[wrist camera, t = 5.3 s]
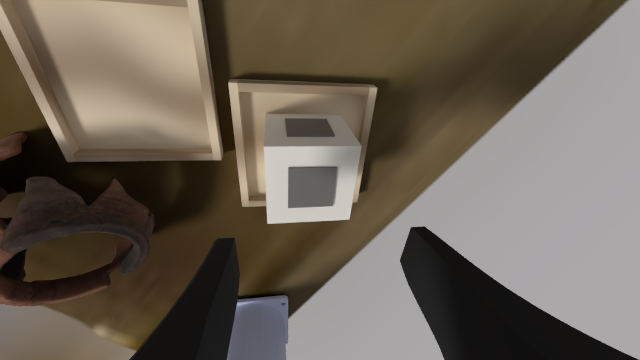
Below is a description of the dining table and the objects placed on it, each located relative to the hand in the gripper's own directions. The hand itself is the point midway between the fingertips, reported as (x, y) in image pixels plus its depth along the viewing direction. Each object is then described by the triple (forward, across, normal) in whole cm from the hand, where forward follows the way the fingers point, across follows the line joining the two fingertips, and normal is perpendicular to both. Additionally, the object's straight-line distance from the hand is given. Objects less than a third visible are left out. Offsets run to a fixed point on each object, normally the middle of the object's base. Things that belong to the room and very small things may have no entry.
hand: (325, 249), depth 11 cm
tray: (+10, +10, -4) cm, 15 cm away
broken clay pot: (+10, +16, +4) cm, 20 cm away
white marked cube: (+10, 0, 0) cm, 10 cm away
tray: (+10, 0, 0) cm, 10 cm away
